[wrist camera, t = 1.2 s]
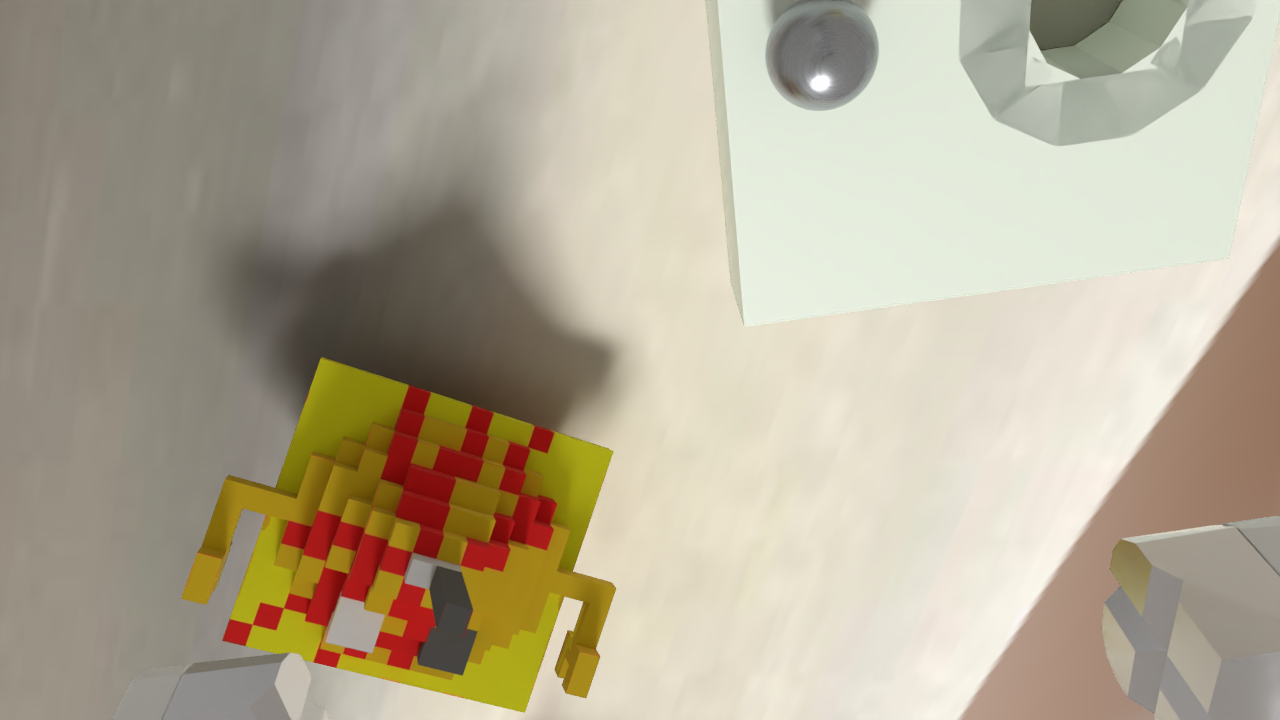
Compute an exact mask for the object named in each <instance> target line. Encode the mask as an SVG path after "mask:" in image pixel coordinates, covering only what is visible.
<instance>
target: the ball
mask: <svg viewBox="0 0 1280 720" xmlns="http://www.w3.org/2000/svg"><path fill="white" fill-rule="evenodd" d="M878 57H879V42H878V37H877V33H876V30H875V27H874V25H873V23H872V21H871V19H870V18H869V16H868V15H867V14H866V12H865V11H864V10H863V9H862V8H861V7H860V6H858V5H857V4H856V3H854V2H852V1H850V0H799V1H797V2H795V3H794V4H792V5H791V6H789V7H788V8H787V9H786V10H785V11H784V12H783V13H782V14H781V15H780V16H779V17H778V19H777V20H776V22H775V23H774V25H773V27H772V29H771V31H770V33H769V36H768V40H767V44H766V51H765V61H766V68H767V71H768V75H769V77H770V80H771V82H772V84H773V85H774V87H775V89H776V90H777V91H778V92H779V93H780V95H781V96H783V97H784V98H785V99H786V100H787V101H789V102H790V103H791V104H793V105H795V106H797V107H800V108H803V109H806V110H811V111H826V110H832V109H836V108H839V107H841V106H843V105H845V104H847V103H849V102H851V101H852V100H854V99H855V98H856V97H857V96H859V94H860V93H861V92H862V91H863V90H864V89H865V88H866V87H867V85H868V84H869V82H870V80H871V79H872V77H873V75H874V72H875V69H876V66H877V62H878Z"/></svg>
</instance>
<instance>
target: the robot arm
mask: <svg viewBox="0 0 1280 720" xmlns="http://www.w3.org/2000/svg"><path fill="white" fill-rule="evenodd" d="M1110 570H1111V572H1112V573H1113V575H1114V576H1115V578H1116V579H1117V581H1118V582H1119V584H1120V585H1121V586H1120V587H1119V588H1118V589H1117V590H1116V591H1115V592H1114V593H1113V594H1112V595H1111V596H1110V597H1109V598H1108V599H1107V601H1105V603H1104V612H1103V621H1102V631H1103V638H1104V643H1105V649H1106V654H1107V657H1108V660H1109V662H1110V664H1111V667H1112V670H1113V672H1114V675H1115V677H1116V678H1117V680H1118V682H1119V684H1120V685H1121V687H1122V689H1123V691H1124V692H1125V694H1126V696H1127V697H1128V698H1130V699H1131V700H1133V701H1134V702H1136V703H1138V704H1139V705H1141V706H1143V707H1144V708H1146V709H1147V710H1149V711H1151V712H1152V713H1154V714H1155V715H1154V720H1280V517H1278V516H1273V517H1266V518H1259V519H1253V520H1246V521H1239V522H1232V523H1225V524H1223V525H1212V526H1205V527H1199V528H1192V529H1185V530H1178V531H1172V532H1164V533H1157V534H1151V535H1144V536H1138V537H1130V538H1124V539H1120V541H1119V542H1118V544H1117V545H1116V546H1115V548H1114V549H1113V554H1112V560H1111V565H1110ZM311 678H312V677H311V675H310V673H309V671H308V669H307V667H306V665H305V663H304V661H303V658H302V656H301V655H300V654H295V653H282V654H273V655H264V656H255V657H246V658H237V659H228V660H219V661H210V662H201V663H194V664H193V665H184V666H174V667H165V668H156V669H146V670H144V671H142V672H141V673H140V674H139V675H138V676H137V677H135V678H134V679H133V680H132V681H131V683H130V684H129V686H128V688H127V690H126V692H125V694H124V696H123V698H122V700H121V702H120V704H119V706H118V708H117V710H116V712H115V714H114V716H113V718H112V720H330V719H329V717H328V714H327V712H326V709H325V708H324V707H323V706H321V705H319V704H318V703H316V702H314V701H313V700H311V699H310V698H308V697H306V696H307V693H308V689H309V686H310V682H311Z"/></svg>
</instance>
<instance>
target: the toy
mask: <svg viewBox="0 0 1280 720" xmlns="http://www.w3.org/2000/svg"><path fill="white" fill-rule="evenodd" d="M612 454H613V451H612V450H610V449H608V448H605V447H602V446H599V445H596V444H593V443H590V442H586V441H583V440H580V439H577V438H574V437H571V436H568V435H565V434H561V433H558V432H555V431H552V430H549V429H546V428H543V427H539V426H536V425H533V424H530V423H527V422H524V421H521V420H518V419H514V418H511V417H508V416H505V415H502V414H499V413H496V412H493V411H489V410H486V409H483V408H480V407H477V406H474V405H471V404H467V403H464V402H461V401H458V400H455V399H452V398H449V397H446V396H442V395H439V394H436V393H433V392H430V391H427V390H424V389H420V388H417V387H414V386H411V385H408V384H405V383H402V382H399V381H395V380H392V379H389V378H386V377H383V376H380V375H377V374H374V373H370V372H367V371H364V370H361V369H358V368H355V367H352V366H348V365H345V364H342V363H339V362H336V361H333V360H330V359H327V358H323V357H321V359H320V362H319V364H318V367H317V370H316V373H315V376H314V379H313V382H312V384H311V387H310V390H309V393H308V396H307V399H306V402H305V405H304V407H303V410H302V413H301V416H300V419H299V422H298V425H297V427H296V430H295V433H294V436H293V439H292V442H291V445H290V447H289V450H288V453H287V456H286V459H285V462H284V465H283V468H282V470H281V473H280V476H279V479H278V482H277V485H276V488H274V487H270V486H266V485H263V484H259V483H256V482H252V481H249V480H245V479H242V478H238V477H234V476H231V475H228V476H227V478H226V479H225V481H224V484H223V487H222V490H221V493H220V495H219V498H218V501H217V504H216V507H215V510H214V513H213V515H212V518H211V521H210V524H209V527H208V530H207V533H206V535H205V538H204V541H203V544H202V547H201V548H200V549H199V551H198V552H197V555H196V558H195V561H194V564H193V566H192V569H191V572H190V575H189V578H188V581H187V583H186V586H185V589H184V592H183V595H182V598H181V599H185V600H189V601H193V602H197V603H201V604H205V605H206V604H207V602H208V601H209V599H210V597H211V594H212V591H214V590H215V588H216V586H217V585H218V582H219V579H220V576H221V573H222V570H223V567H224V565H225V562H226V559H227V556H228V553H229V550H230V547H231V545H232V538H233V535H234V532H235V529H236V526H237V524H238V521H239V518H240V515H241V512H242V509H247V510H251V511H254V512H258V513H262V514H265V515H266V516H265V519H264V522H263V525H262V528H261V531H260V533H259V536H258V539H257V542H256V545H255V548H254V551H253V554H252V556H251V559H250V562H249V565H248V568H247V571H246V574H245V576H244V579H243V582H242V585H241V588H240V591H239V594H238V596H237V599H236V602H235V605H234V608H233V611H232V614H231V617H230V619H229V622H228V625H227V628H226V631H225V634H224V637H223V639H222V641H226V642H230V643H234V644H238V645H243V646H247V647H251V648H255V649H260V650H264V651H268V652H272V653H276V654H282V653H295V654H300V655H301V656H302V658H303V660H306V661H310V662H314V663H318V664H323V665H327V666H331V667H335V668H339V669H344V670H348V671H352V672H356V673H360V674H365V675H369V676H373V677H377V678H381V679H386V680H390V681H394V682H398V683H403V684H407V685H411V686H415V687H419V688H424V689H428V690H432V691H436V692H440V693H445V694H449V695H453V696H457V697H461V698H466V699H470V700H474V701H478V702H482V703H487V704H491V705H495V706H499V707H503V708H508V709H512V710H516V711H520V712H524V713H525V710H526V707H527V704H528V702H529V699H530V696H531V693H532V690H533V687H534V684H535V681H536V678H537V675H538V672H539V669H540V666H541V663H542V660H543V657H544V654H545V651H546V649H547V646H548V643H549V640H550V637H551V634H552V631H553V628H554V625H555V622H556V619H557V616H558V613H559V610H560V607H561V604H562V601H563V598H564V596H565V597H569V598H572V599H576V600H580V601H583V605H582V608H581V611H580V614H579V617H578V620H577V623H576V626H575V629H574V632H573V631H569V630H568V631H567V634H566V637H565V640H564V643H563V646H562V649H561V652H560V655H559V658H558V661H557V664H556V667H555V671H556V674H557V676H558V677H560V678H564V680H563V683H562V686H563V688H564V690H565V692H566V693H567V694H571V695H575V696H579V697H583V698H586V697H587V694H588V691H589V688H590V685H591V682H592V680H593V677H594V674H595V671H596V668H597V665H598V662H599V659H600V655H599V654H598V652H597V651H596V647H597V644H598V641H599V638H600V635H601V632H602V629H603V626H604V623H605V620H606V617H607V614H608V611H609V608H610V605H611V602H612V599H613V596H614V593H615V590H616V587H615V586H614V585H613V584H612V583H611V582H608V581H604V580H601V579H597V578H594V577H590V576H587V575H583V574H579V573H576V572H573V569H574V566H575V563H576V560H577V557H578V554H579V551H580V548H581V545H582V542H583V540H584V537H585V534H586V531H587V528H588V525H589V522H590V519H591V516H592V513H593V510H594V507H595V504H596V501H597V498H598V495H599V492H600V489H601V487H602V484H603V481H604V478H605V475H606V472H607V469H608V466H609V463H610V460H611V457H612Z"/></svg>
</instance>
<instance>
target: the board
mask: <svg viewBox="0 0 1280 720" xmlns="http://www.w3.org/2000/svg"><path fill="white" fill-rule="evenodd" d="M797 1H799V0H706V7H707V18H708V30H709V41H710V53H711V64H712V75H713V87H714V98H715V110H716V121H717V132H718V144H719V155H720V167H721V178H722V189H723V201H724V212H725V224H726V235H727V247H728V258H729V269H730V281H731V286H732V289H733V292H734V295H735V299H736V302H737V305H738V308H739V312H740V315H741V318H742V321H743V325H744V327H749V326H756V325H763V324H770V323H777V322H785V321H792V320H799V319H806V318H813V317H820V316H827V315H834V314H841V313H848V312H856V311H863V310H870V309H877V308H884V307H891V306H898V305H905V304H912V303H919V302H926V301H934V300H941V299H948V298H955V297H962V296H969V295H976V294H983V293H990V292H997V291H1005V290H1012V289H1019V288H1026V287H1033V286H1040V285H1047V284H1054V283H1061V282H1068V281H1076V280H1083V279H1090V278H1097V277H1104V276H1111V275H1118V274H1125V273H1132V272H1139V271H1147V270H1154V269H1161V268H1168V267H1175V266H1182V265H1189V264H1196V263H1203V262H1210V261H1218V260H1225V259H1229V256H1230V251H1231V247H1232V242H1233V237H1234V232H1235V227H1236V223H1237V218H1238V213H1239V208H1240V204H1241V199H1242V194H1243V189H1244V184H1245V180H1246V175H1247V170H1248V165H1249V160H1250V156H1251V151H1252V146H1253V141H1254V137H1255V132H1256V127H1257V122H1258V117H1259V113H1260V108H1261V103H1262V98H1263V93H1264V89H1265V84H1266V79H1267V74H1268V70H1269V65H1270V60H1271V55H1272V50H1273V46H1274V41H1275V36H1276V31H1277V26H1278V22H1279V17H1280V0H1122V2H1121V4H1120V5H1119V7H1118V8H1117V10H1116V12H1115V13H1114V15H1113V16H1112V18H1111V19H1110V21H1109V22H1108V23H1106V24H1105V25H1104V26H1102V27H1101V28H1099V29H1098V30H1096V31H1095V32H1093V33H1092V34H1090V35H1089V36H1088V37H1086V38H1085V39H1083V40H1082V41H1080V42H1079V43H1077V44H1076V45H1074V46H1068V47H1062V48H1055V49H1048V50H1041V51H1040V49H1039V47H1038V45H1037V43H1036V42H1035V40H1034V38H1033V36H1032V34H1031V32H1030V30H1029V27H1030V14H1031V2H1032V0H850V1H852V2H854V3H856V4H857V5H858V6H860V7H861V8H862V9H863V10H864V11H865V12H866V14H867V15H868V16H869V18H870V19H871V21H872V23H873V25H874V27H875V30H876V33H877V37H878V42H879V57H878V62H877V66H876V69H875V72H874V75H873V77H872V79H871V80H870V82H869V84H868V85H867V87H866V88H865V89H864V90H863V91H862V92H861V93H860V94H859V96H857V97H856V98H855V99H854V100H852V101H851V102H849V103H847V104H845V105H843V106H841V107H839V108H836V109H832V110H826V111H811V110H806V109H803V108H800V107H797V106H795V105H793V104H791V103H790V102H789V101H787V100H786V99H785V98H784V97H783V96H781V95H780V93H779V92H778V91H777V90H776V89H775V87H774V85H773V84H772V82H771V80H770V77H769V75H768V71H767V68H766V61H765V51H766V44H767V40H768V36H769V33H770V31H771V29H772V27H773V25H774V23H775V22H776V20H777V19H778V17H779V16H780V15H781V14H782V13H783V12H784V11H785V10H786V9H787V8H788V7H789V6H791V5H792V4H794V3H795V2H797Z"/></svg>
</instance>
